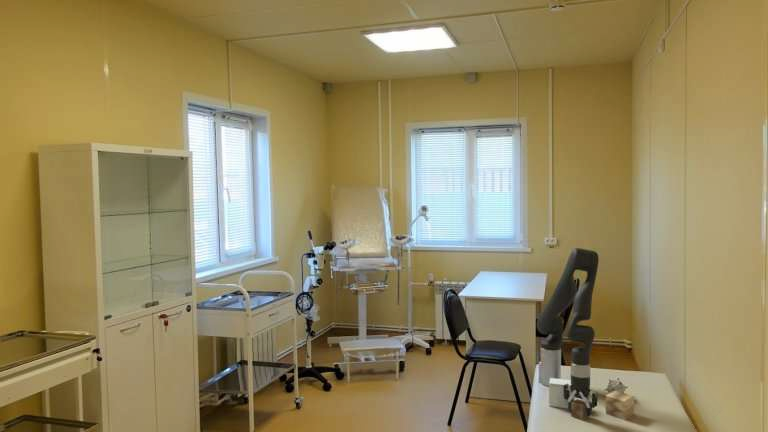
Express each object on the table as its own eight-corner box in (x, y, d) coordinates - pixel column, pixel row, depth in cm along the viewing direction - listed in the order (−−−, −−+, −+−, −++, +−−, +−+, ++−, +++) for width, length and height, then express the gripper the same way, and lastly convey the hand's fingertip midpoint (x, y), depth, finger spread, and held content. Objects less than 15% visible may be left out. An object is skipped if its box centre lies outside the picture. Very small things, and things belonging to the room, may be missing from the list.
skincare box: (548, 406, 237) (548, 382, 236) (549, 400, 243) (549, 377, 242) (574, 409, 233) (574, 385, 232) (574, 403, 239) (575, 380, 239)
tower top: (605, 405, 229) (605, 395, 228) (615, 399, 234) (615, 390, 233) (624, 411, 222) (624, 401, 222) (633, 405, 228) (633, 396, 227)
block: (570, 416, 227) (571, 402, 226) (577, 413, 230) (577, 398, 230) (582, 420, 223) (582, 405, 223) (588, 416, 226) (588, 402, 226)
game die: (620, 406, 245) (630, 394, 238) (601, 398, 246) (611, 386, 240) (620, 390, 251) (631, 378, 245) (602, 383, 253) (612, 370, 246)
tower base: (605, 414, 229) (605, 405, 228) (614, 409, 234) (615, 399, 234) (624, 420, 223) (625, 411, 222) (633, 414, 228) (633, 405, 228)
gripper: (559, 371, 228) (559, 410, 229) (592, 380, 217) (592, 421, 219) (569, 367, 233) (568, 405, 234) (601, 375, 223) (601, 415, 224)
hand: (580, 413), depth 226 cm, fingers open, 7 cm apart
